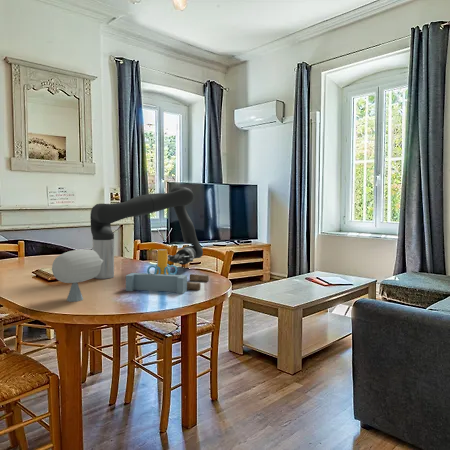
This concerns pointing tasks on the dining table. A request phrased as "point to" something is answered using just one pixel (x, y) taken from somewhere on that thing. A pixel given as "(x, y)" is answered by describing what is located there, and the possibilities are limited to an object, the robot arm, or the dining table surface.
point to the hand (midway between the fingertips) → (175, 260)
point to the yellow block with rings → (162, 264)
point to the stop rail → (156, 282)
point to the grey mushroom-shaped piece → (76, 269)
